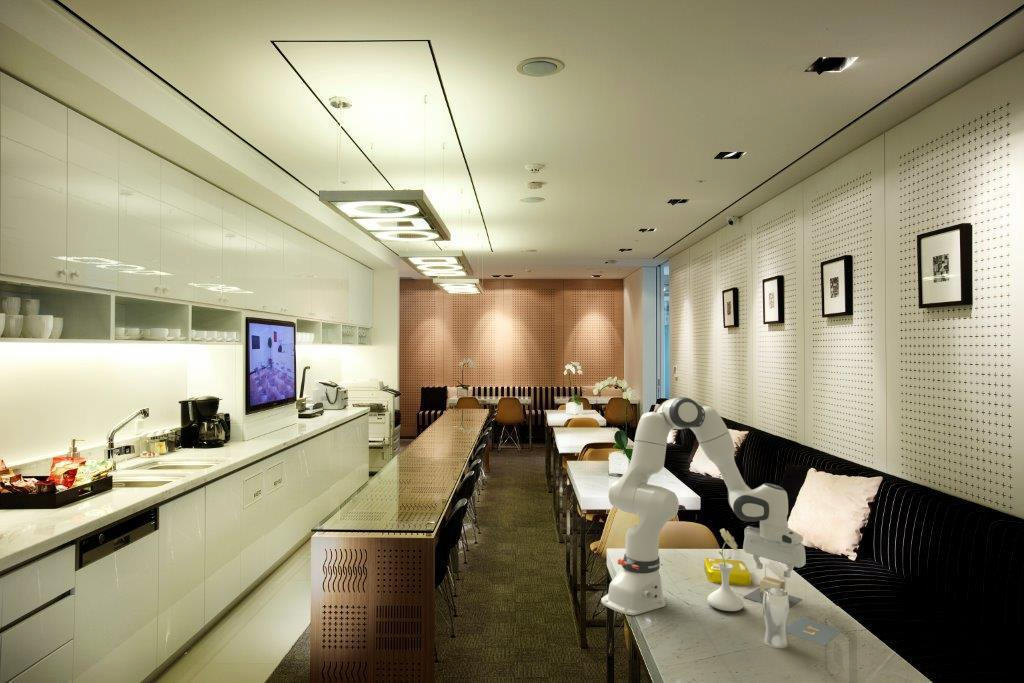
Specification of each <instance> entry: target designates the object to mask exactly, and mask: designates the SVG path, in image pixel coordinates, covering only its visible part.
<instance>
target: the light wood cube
mask: <svg viewBox="0 0 1024 683" xmlns="http://www.w3.org/2000/svg"><path fill="white" fill-rule="evenodd" d="M767 587H775V588H780V589H783V590H785V591H786V580H784V579H781V578H777V577H774V576H771V575H766V576H765V577H763V578H761V579H760V580H759V588H760V598H763V594H764V589H765V588H767Z"/></svg>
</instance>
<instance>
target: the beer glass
mask: <svg viewBox="0 0 1024 683" xmlns="http://www.w3.org/2000/svg"><path fill="white" fill-rule="evenodd" d="M788 595H789V593H788V591H786V589H785V590H783V589H780V588H775V587H767V588H765V589H764V594H763V604H762V611H763V612H762V613H763V619H764V623H765V634H764V638H763V641H764V643H765V644H766V645H767V646H770V647H771V648H776V649H785V648H788V641H787V636H786V633H787V632H786V627H787V626H788V621H789V615H790V608H789V599H788Z"/></svg>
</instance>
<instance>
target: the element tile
mask: <svg viewBox="0 0 1024 683" xmlns="http://www.w3.org/2000/svg"><path fill="white" fill-rule="evenodd" d="M725 559H726V558H724V560H725ZM724 562H725V563H729V564H731V565H733V566H734V567H733V568H732V570H731V572H730V576H729V585H734V584H736V585H735V586H745V587H746V586H751V585H750V584H752V583H751V582H752V580H751V578H752V577H751V576H752V575H751V571H750V569H749V568H748V567H747V565H746V563H745V562H744V561H743V560H736V559H735V560H734V559H728V560H725V561H724ZM724 562H723V558H712V557H711V558H710V557H705V558H704V559H703V570H705V571H704V573H706V574H705V575H706V578H707V579H706V580H707V581H708V580H709V581H708V582H710V581H711V582H710V583H713V582H716V583H715V584H722V574H721V570H720V568H719V566H718V563H724Z"/></svg>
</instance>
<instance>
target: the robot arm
mask: <svg viewBox="0 0 1024 683" xmlns="http://www.w3.org/2000/svg"><path fill="white" fill-rule="evenodd" d="M673 429H675V430H683V429H689V430H691V431H692V432H693V434H694V435H695V437H696V440H697V442H698V444H699V447H700V448H701V450H702V452H703V453H704V455H705V456H706V457H707V458H708V460H709V461H711V462H712V463H713V464H714V465H715V466H716V467H717V470H718V471H719V473H720V476H721V478H722V479H723V481H724V484H725V485H726V488H727V501H728V504H729V506H730V508H731V509H732V511H733V513H734V515H735V516H736V517H737V518H738V519H740V520H741V521H742V522H747V523H748V522H749V523H750V522H759V527H755V526H754V527H753V526H751V525H749V526H746V527H745V528H744V540H743V545H742V549H743V551H744V553H747V554H749V555H752V556H753V557H752V558H753V560H754V562H755V564H756V565H755V566H756V569H758V570H762V569H764V567H763V566H764V564H763V563H762V562H761V561H760V558H764V559H767V560H771V561H774V562H777V563H781V564H786V567H787V568H788V569H787V570H784V571H783V577H784V578H787V579H789V578H790V577H791V572H792V571H793V570H794V568H799V569H800V568H802V567H804V566H805V565H806V563H807V562H806V560H807V559H806V549H805V546H804V544H803V541H804V536H802V535H801V534H800V533H798V532H796V531H794V530H793V529H791V528H790V527H789V524H788V523H789V522H788V518H787V517H788V514H789V498H788V493H787V491H786V489H784V488H783V487H782V486H781V485H777V484H773V483H771V482H770V483H767V482H766V483H763V484H761V485H759V486H758V487H756V488H754V489H752V488H751V487H750V486H749V485H748V484H746V482H745V480H744V479H743V477H742V475H741V473H740V470H739V468H738V466H737V463H736V461H735V452H736V449H735V448H736V447H735V444H734V441H733V438H732V436H731V432H730V431H729V429H728V427H727V425H726V423H725V422H724V419H723V418H722V417H721V416H720V413H719V412H717V410H716V409H715V408H714V407H712V406H710V405H709V406H708V405H705V406H704V405H703V406H701V405H700V404H698V403H697V402H696V401H695V400H694V399H692V398H689V397H685V396H682V397H671V398H669V399H666V400H664V401H661V403H660V404H659V405H658V406H657V407H656V409H655V411H647V412H645V413H643V414H642V415H641V416H640V419H639V421H638V424H637V428H636V430H635V436H634V441H633V442H634V443H633V448H632V454H631V457H630V463H629V465H628V467H627V468H626V470H625V472H624V473H623V474H622V476H620V477H619V478H618V479H616V480H615V481H614V482H612V484H611V485H610V486H609V489H608V501H609V503H610V505H611V506H612V507H614V508H616V509H617V510H619V511H622V512H623V513H627V514H633V515H637V516H639V520H638V524H635V525H633V526H631V527H629V528H628V530H627V531H626V534H625V553H624V555H623V559H622V558H619V557H618V559H617V565H619V566H621V568H620V569H619V571H618V572H617V574H616V575H615V576H614V578H613V579H612V580H611V582H610V583H609V584H608V586H609V587H608V593H607V594H605V595H604V596H603V597H601V598H600V599H601V600H600V603H601V604H602V605H603V606H605V607H607V608H609V609H610V610H613V611H615V612H618V613H621V614H624V615H629V616H637V615H640V614H644V613H647V612H651V611H654V610H657V609H660V608H663V607H666V606H667V603H666V601H665V600H664V592H663V591H664V590H663V581H662V579H663V578H662V576H661V575H660V574H661V573H660V568H661V567H660V566H661V559H660V556H659V545H660V535H661V532H662V529H663V528H664V526H665V525H666V524H667V523H668V522H669V521H671V520H673V519H674V518H675V517H676V516H677V513H678V511H679V508H680V507H679V506H680V503H679V498H678V497H677V494H676V492H674V491H672V490H669V489H667V488H666V487H663V486H658V485H653V484H650V483H649V484H648V481H649V479H650V477H651V476H653V475H654V474H657V473H660V472H661V471H662V469H663V468H664V466H665V460H666V452H667V451H666V450H667V445H668V437H669V434H670V432H671V431H672V430H673Z"/></svg>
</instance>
